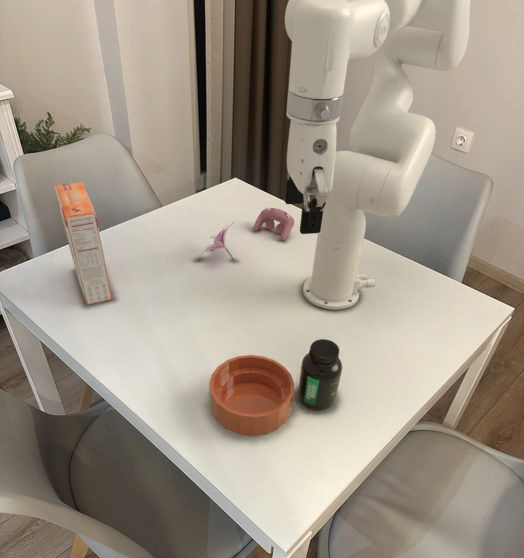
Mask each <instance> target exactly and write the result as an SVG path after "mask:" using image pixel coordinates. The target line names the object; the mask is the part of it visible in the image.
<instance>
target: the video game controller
mask: <svg viewBox="0 0 524 558" xmlns="http://www.w3.org/2000/svg"><path fill="white" fill-rule="evenodd" d="M275 222H278V223H277V225H276V223H275ZM264 225H265V228H266V230H273V229H275V231H276V233H277V234H281V235H280V240H281V241H282V242H284V241H286V240H287V238H288V237H289V236H290V234H291V231H292V229H293V228H294V225H295V219H294V217H293V216H292V215H290V214H289V213H288V212H286V211H285V210H282V209H281V208H276V207H265V208H264V209H263V210H261V211H260V213H259V215H258V216H257V218H256V220H255V222H254V224H253V230H254V231H255V232H257V231H258V230H260V229H261V228H262V227H263V226H264Z"/></svg>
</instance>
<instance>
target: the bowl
mask: <svg viewBox="0 0 524 558" xmlns="http://www.w3.org/2000/svg"><path fill="white" fill-rule="evenodd" d="M208 386H209V387H208V388H209V389H208V390H209V406H210V412H211V414H212V417H213V418H214V420H215V421H216V422H217V423H218V424H219V425H220V426H221V427H223V428H224V429H225V430H227V431H229V432H232V433H234V434H237V435H238V436H239V435H240V436H241V435H242V436H249V437H257V436H263V435H268V434H270V433H272V432H276V431H277V430H279V429H280V428H281V427H282V426H283V425H284V424H286V423H287V421H288V419H289V417H290V416H291V414H292V410H293V402H294V401H293V400H294V393H295V382H294V379H293V376H292V374H291V373H290V371H289V370H288V369H287V368H286V367H285V366H284V365H283V364H281V363H279V362H278V361H277V360H275V359H273V358H270V357H267V356H264V355H255V354H247V355H238V356H235V357H231V358H229V359H227V360H225V361H223V362H222V363H221V364H220V365H218V366H217V367H216V368H215V370H214V371H213V372H212V374H211V376H210V379H209V383H208Z"/></svg>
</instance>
